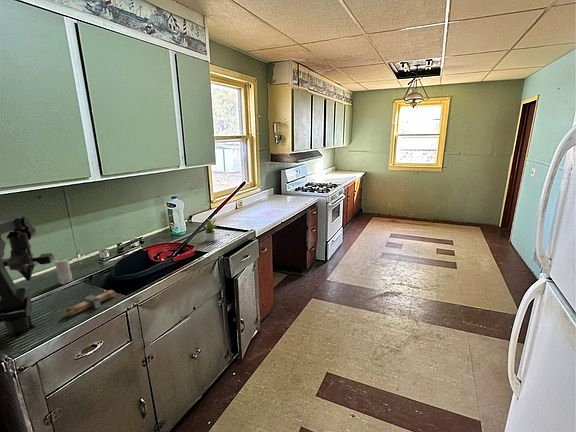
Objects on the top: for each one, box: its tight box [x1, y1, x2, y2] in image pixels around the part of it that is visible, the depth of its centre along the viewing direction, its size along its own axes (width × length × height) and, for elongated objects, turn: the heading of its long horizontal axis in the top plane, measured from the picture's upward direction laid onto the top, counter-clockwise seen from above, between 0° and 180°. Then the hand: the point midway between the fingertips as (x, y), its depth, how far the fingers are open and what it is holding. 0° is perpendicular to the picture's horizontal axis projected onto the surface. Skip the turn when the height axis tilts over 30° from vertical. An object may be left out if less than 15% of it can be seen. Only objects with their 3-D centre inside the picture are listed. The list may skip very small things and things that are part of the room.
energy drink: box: [54, 257, 73, 285], centre depth 150 cm, size 5×5×12 cm
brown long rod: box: [62, 289, 116, 318], centre depth 129 cm, size 20×4×3 cm, turn 150°
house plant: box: [199, 217, 218, 242], centre depth 209 cm, size 14×14×16 cm
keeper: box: [85, 294, 101, 310], centre depth 130 cm, size 2×7×4 cm, turn 58°
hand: (29, 280), depth 125 cm, fingers closed
